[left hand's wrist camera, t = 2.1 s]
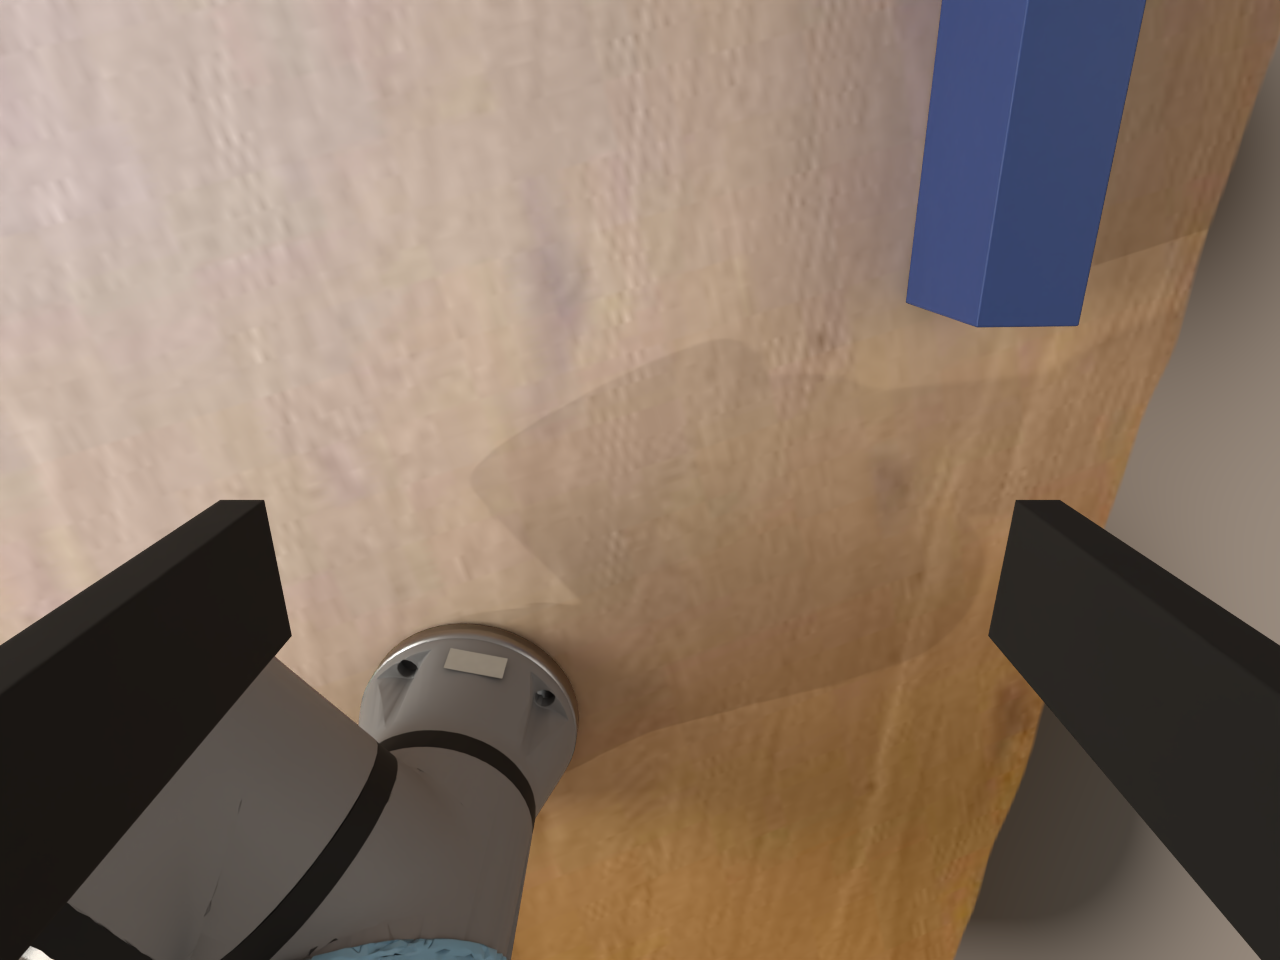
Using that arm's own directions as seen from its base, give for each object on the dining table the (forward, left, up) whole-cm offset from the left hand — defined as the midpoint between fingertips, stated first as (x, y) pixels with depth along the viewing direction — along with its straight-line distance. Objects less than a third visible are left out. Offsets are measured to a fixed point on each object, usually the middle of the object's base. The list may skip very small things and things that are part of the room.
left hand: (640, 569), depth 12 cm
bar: (+18, -13, -30) cm, 38 cm away
